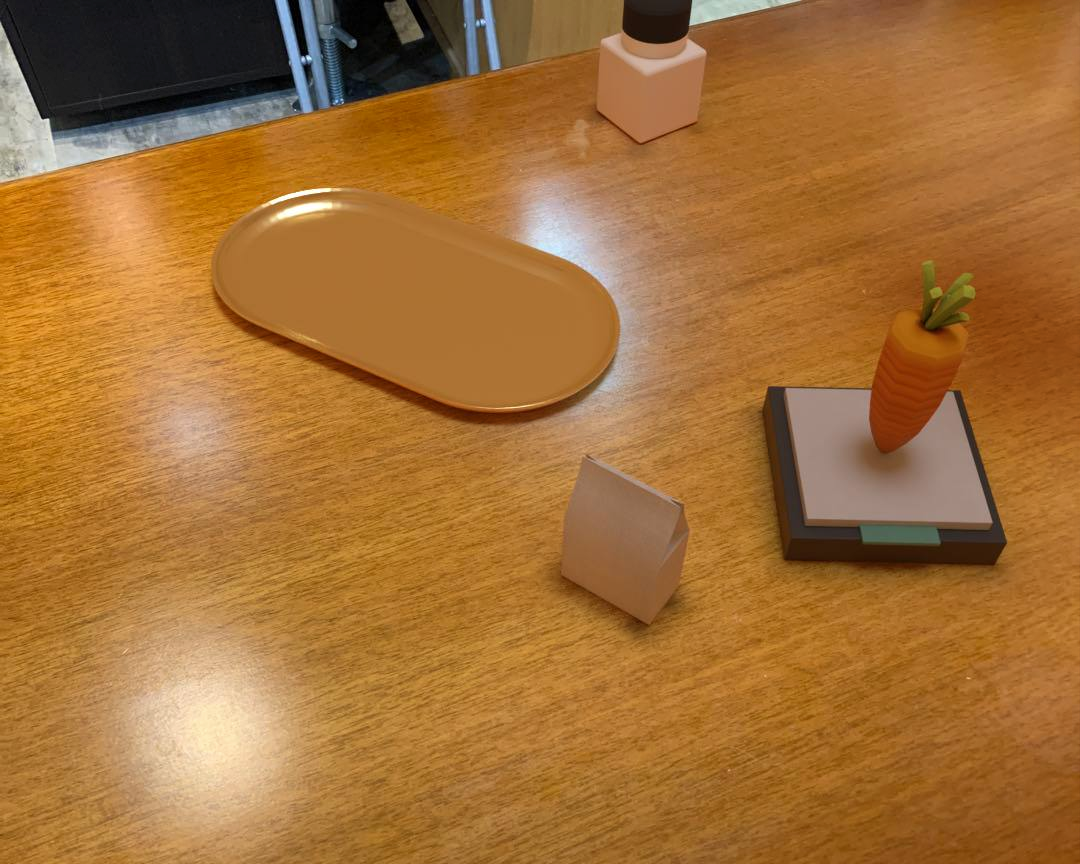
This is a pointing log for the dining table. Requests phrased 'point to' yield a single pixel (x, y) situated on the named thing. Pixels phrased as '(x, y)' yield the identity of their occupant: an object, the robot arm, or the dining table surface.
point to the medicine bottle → (651, 70)
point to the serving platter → (418, 298)
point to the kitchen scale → (877, 483)
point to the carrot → (918, 362)
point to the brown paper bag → (623, 540)
